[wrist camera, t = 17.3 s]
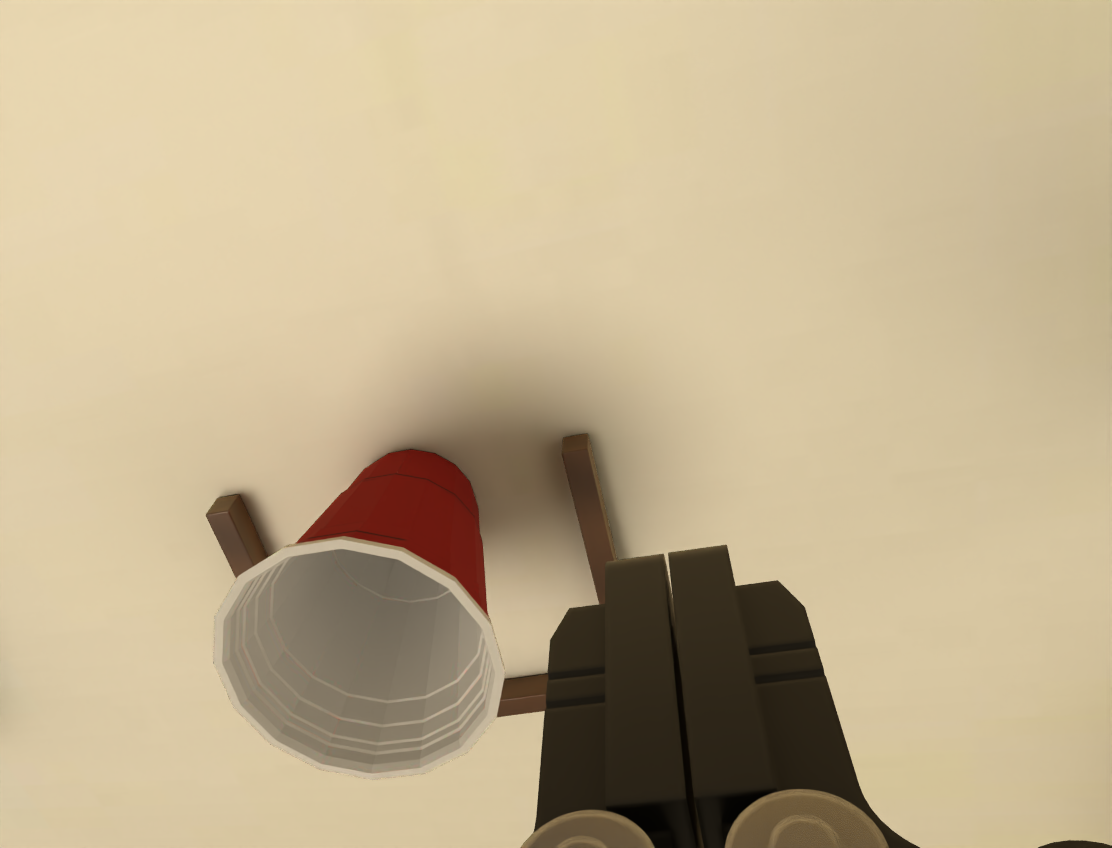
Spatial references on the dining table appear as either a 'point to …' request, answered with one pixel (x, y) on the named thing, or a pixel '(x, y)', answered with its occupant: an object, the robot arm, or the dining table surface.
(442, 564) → the plastic cup
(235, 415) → the dining table surface
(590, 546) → the frame
